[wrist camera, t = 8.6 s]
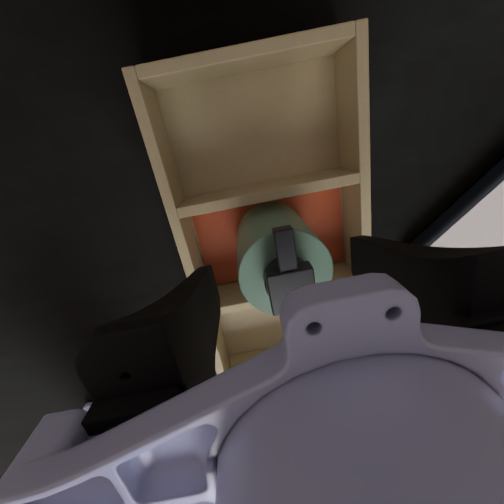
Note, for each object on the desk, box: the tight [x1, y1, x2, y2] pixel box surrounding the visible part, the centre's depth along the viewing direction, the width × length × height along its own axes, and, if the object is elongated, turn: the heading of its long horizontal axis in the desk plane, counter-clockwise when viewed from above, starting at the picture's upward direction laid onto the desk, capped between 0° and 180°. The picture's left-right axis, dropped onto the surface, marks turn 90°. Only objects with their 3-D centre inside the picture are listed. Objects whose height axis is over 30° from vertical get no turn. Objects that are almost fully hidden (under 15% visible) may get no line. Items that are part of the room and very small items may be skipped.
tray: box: [121, 18, 371, 375], centre depth 18 cm, size 20×11×3 cm, turn 11°
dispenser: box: [237, 202, 333, 316], centre depth 15 cm, size 5×5×8 cm
